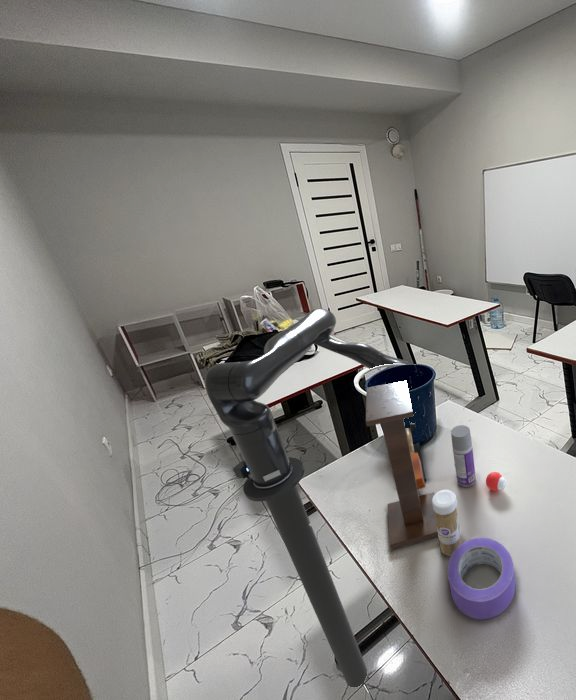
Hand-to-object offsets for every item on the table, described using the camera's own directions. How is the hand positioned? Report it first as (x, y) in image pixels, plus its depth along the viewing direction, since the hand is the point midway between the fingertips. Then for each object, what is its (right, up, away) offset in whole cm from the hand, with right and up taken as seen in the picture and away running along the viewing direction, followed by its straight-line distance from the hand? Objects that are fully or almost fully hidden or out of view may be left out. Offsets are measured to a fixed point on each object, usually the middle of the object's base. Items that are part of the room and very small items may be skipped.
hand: (406, 429), depth 97 cm
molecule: (+24, -12, -11) cm, 29 cm away
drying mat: (+1, -9, -1) cm, 9 cm away
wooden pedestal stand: (+5, -16, -18) cm, 25 cm away
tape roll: (+19, -21, -32) cm, 43 cm away
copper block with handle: (+2, -6, -3) cm, 7 cm away
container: (+16, -11, -8) cm, 21 cm away
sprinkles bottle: (+13, -19, -24) cm, 33 cm away
